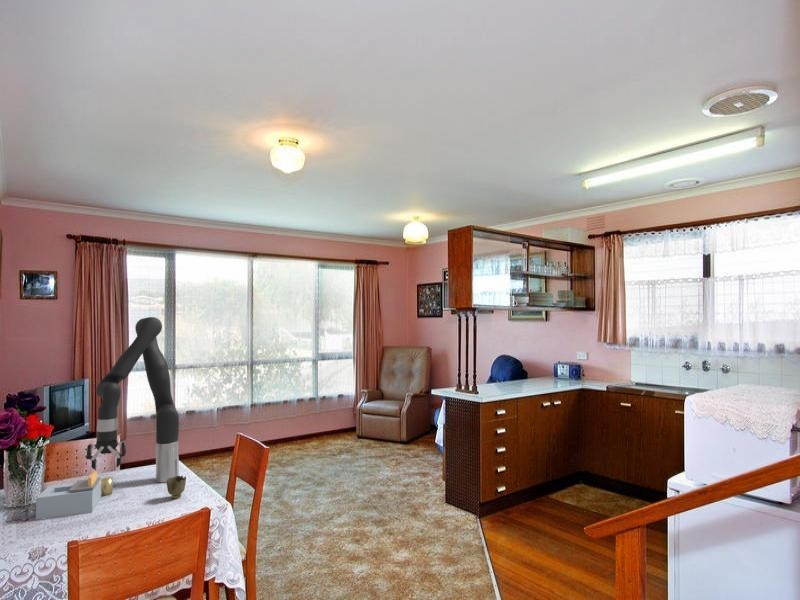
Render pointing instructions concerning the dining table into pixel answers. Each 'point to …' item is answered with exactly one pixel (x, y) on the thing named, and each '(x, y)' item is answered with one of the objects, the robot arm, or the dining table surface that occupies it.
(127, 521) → the dining table surface
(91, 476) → the lid
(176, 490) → the cup
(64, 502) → the housing
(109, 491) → the brass cylinder
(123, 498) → the dining table surface
